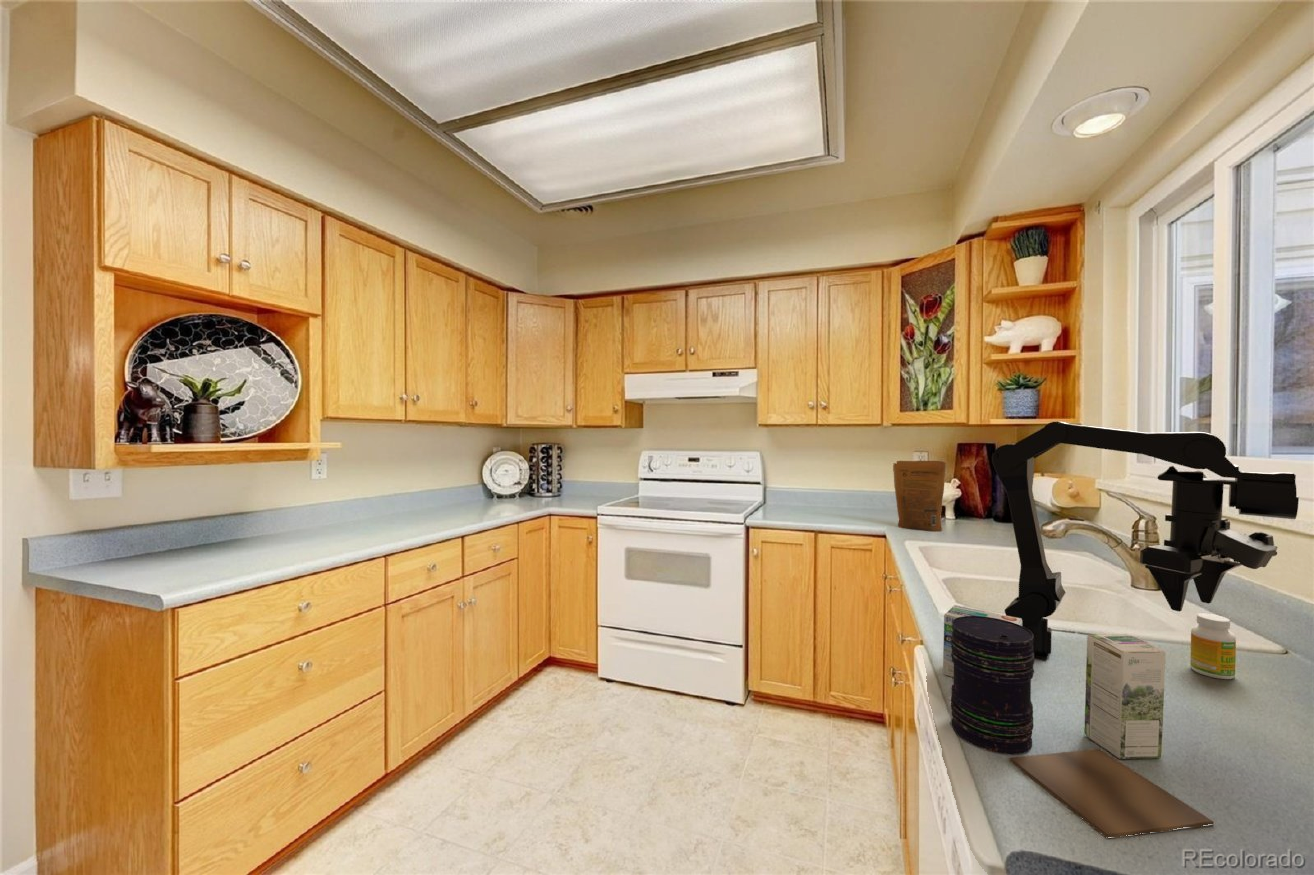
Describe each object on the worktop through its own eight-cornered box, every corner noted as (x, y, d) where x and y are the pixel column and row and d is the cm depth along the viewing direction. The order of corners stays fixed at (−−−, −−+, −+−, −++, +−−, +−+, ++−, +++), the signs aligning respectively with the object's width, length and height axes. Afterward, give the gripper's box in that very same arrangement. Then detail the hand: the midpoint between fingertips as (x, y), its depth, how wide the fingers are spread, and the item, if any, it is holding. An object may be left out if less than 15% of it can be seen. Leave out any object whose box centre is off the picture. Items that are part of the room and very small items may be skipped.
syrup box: (1123, 734, 75) (1124, 631, 74) (1164, 760, 69) (1166, 649, 69) (1083, 735, 75) (1084, 632, 74) (1121, 762, 69) (1123, 650, 68)
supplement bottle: (1225, 682, 89) (1227, 625, 89) (1183, 669, 94) (1184, 614, 94) (1241, 676, 91) (1242, 620, 91) (1199, 663, 96) (1200, 609, 96)
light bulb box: (941, 675, 93) (942, 613, 92) (952, 662, 98) (952, 603, 97) (1015, 696, 85) (1015, 629, 85) (1022, 681, 90) (1023, 617, 90)
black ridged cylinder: (937, 714, 80) (938, 615, 80) (1004, 714, 80) (1005, 615, 80) (974, 755, 70) (975, 642, 70) (1051, 756, 70) (1052, 643, 70)
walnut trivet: (1107, 839, 56) (1107, 834, 56) (1010, 761, 69) (1010, 757, 69) (1213, 825, 58) (1213, 821, 58) (1099, 752, 71) (1099, 748, 71)
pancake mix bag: (944, 533, 208) (945, 461, 208) (892, 528, 219) (892, 459, 219) (947, 530, 214) (947, 460, 213) (895, 525, 225) (896, 458, 224)
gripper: (1238, 524, 75) (1232, 634, 75) (1297, 515, 82) (1291, 615, 83) (1140, 511, 85) (1135, 608, 85) (1200, 504, 92) (1195, 593, 93)
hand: (1191, 606), depth 86 cm, fingers open, 9 cm apart
